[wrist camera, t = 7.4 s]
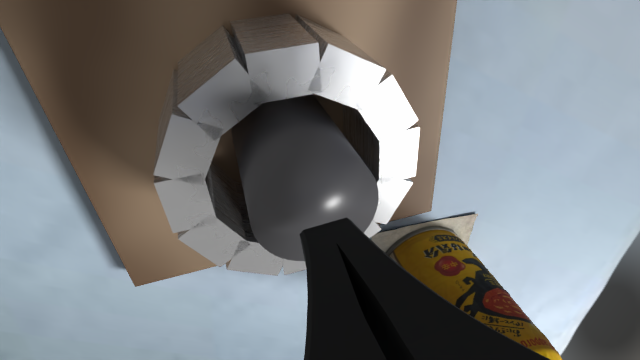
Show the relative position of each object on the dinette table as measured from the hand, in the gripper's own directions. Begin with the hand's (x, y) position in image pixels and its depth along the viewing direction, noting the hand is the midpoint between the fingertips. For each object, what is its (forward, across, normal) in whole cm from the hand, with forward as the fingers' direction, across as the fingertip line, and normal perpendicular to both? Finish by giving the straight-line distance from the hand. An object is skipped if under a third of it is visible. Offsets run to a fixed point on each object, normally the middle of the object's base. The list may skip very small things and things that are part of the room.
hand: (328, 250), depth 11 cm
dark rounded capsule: (+8, 0, 0) cm, 8 cm away
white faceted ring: (+8, 0, 0) cm, 8 cm away
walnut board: (+8, 0, 0) cm, 8 cm away
